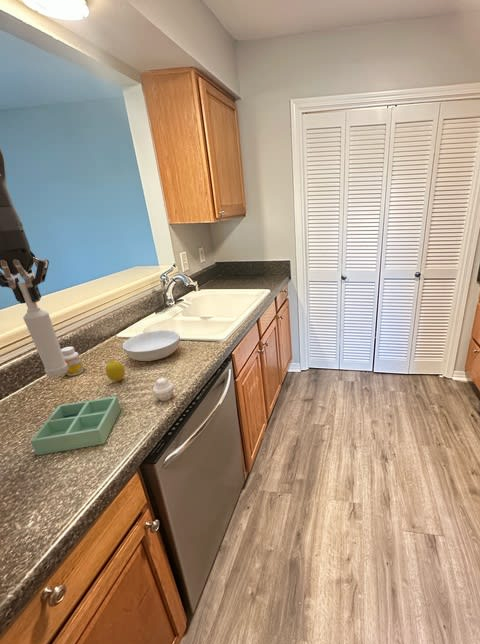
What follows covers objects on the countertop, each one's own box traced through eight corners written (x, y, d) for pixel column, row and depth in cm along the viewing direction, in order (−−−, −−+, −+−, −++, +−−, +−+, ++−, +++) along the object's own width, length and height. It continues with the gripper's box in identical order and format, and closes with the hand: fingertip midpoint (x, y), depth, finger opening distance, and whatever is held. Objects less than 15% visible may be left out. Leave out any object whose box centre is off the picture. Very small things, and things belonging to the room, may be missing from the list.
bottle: (45, 379, 85) (7, 285, 75) (47, 371, 89) (11, 282, 79) (69, 373, 87) (34, 282, 77) (69, 366, 91) (37, 278, 81)
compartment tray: (36, 455, 80) (29, 441, 78) (64, 418, 94) (58, 405, 92) (104, 443, 82) (99, 429, 81) (121, 409, 96) (117, 396, 95)
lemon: (108, 387, 108) (101, 366, 105) (110, 379, 113) (103, 359, 110) (127, 382, 110) (120, 362, 107) (127, 375, 115) (121, 355, 112)
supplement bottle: (65, 372, 120) (56, 349, 116) (82, 367, 123) (74, 344, 119) (68, 377, 116) (59, 353, 112) (85, 372, 119) (77, 348, 115)
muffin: (179, 396, 101) (175, 377, 98) (161, 406, 97) (156, 386, 94) (169, 390, 105) (165, 371, 102) (151, 399, 100) (146, 379, 98)
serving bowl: (148, 372, 116) (144, 355, 114) (116, 360, 127) (111, 344, 124) (193, 350, 132) (190, 334, 130) (161, 341, 143) (157, 326, 140)
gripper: (-47, 232, 68) (-12, 309, 75) (27, 227, 71) (54, 303, 78) (-23, 229, 75) (7, 300, 82) (44, 225, 78) (68, 295, 85)
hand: (30, 301), depth 80 cm, fingers closed on bottle, 2 cm apart
